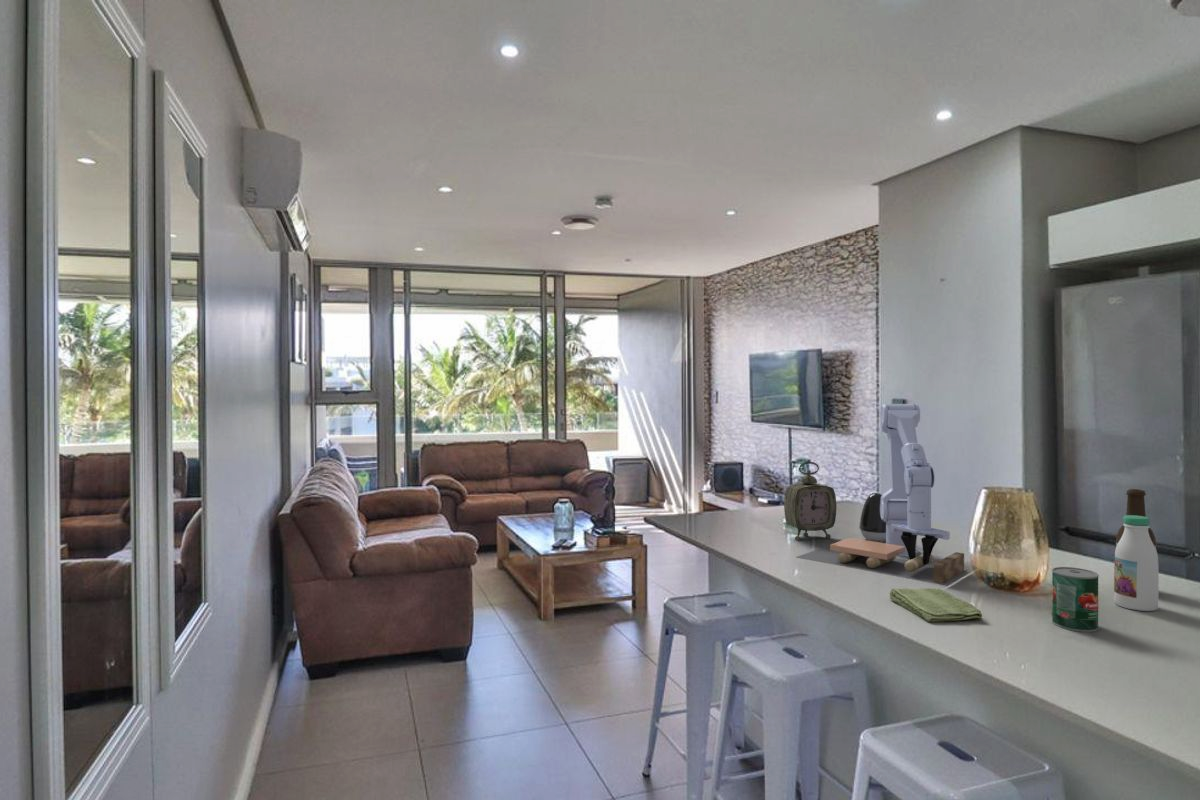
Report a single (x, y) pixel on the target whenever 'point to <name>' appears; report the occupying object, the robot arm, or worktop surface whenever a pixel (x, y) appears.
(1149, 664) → the worktop surface
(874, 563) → the roller front
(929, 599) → the washcloth
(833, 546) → the slab
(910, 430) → the robot arm
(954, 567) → the bar
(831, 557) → the mat
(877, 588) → the worktop surface
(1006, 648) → the worktop surface
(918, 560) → the roller
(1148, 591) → the milk bottle
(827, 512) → the tabletop clock
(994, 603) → the worktop surface
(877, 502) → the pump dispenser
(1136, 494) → the beer bottle
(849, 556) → the roller rear
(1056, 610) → the canned tomato
